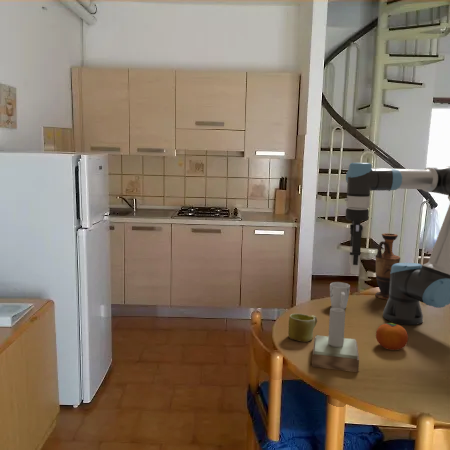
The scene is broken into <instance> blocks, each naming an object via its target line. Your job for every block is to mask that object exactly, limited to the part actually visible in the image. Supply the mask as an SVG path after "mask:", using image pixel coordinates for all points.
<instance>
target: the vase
mask: <svg viewBox="0 0 450 450" xmlns="http://www.w3.org/2000/svg"><path fill="white" fill-rule="evenodd" d="M381 236H382V237H381V238H382V239H383V240H384V241H380V242H379V243H378V248H377V253H376V254H375V279H376V283H377V286H378V288H379V289H378V290H379V291H377V292H376V293H375V298H378V299H382V300H388V299H389V289H390V272H391V267H392V265H393V264H396V263H401V257H400V256H399V255H396V254H394V253H393V244H394V241H395V240H396V239H397V238H398V237H399V235H398V234H395V233H387V232H386V233H381ZM383 246H384V249H383V252H382V247H383Z"/></svg>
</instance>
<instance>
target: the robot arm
mask: <svg viewBox="0 0 450 450" xmlns="http://www.w3.org/2000/svg"><path fill="white" fill-rule="evenodd" d="M372 165H373V164H372V163H371V162H351V163H349V165H348V170H347V172H346V173H345V181H346V183H347V187H346V197H345V198H344V202H346V205H345V206H346V207H347V208H346V209H345V219H346V220H347V221H351V224H350V225H349V229H350V240H349V257H348V259H349V260H348V261H349V262H348V265H350V270H349V271H350V275H360V265H361V264H360V263H361V262H360V260H361V254H362V252H361V249H362V248H361V247H362V245H361V244H362V243H361V242H362V236H363V235H362V233H363V227H364V226H363V224H361V222H367V221H368V220H369V215H370V210H369V208H370V201H371V191H373V192H374V191H377V192H378V191H380V192H381V191H388V192H391V191H396V190H399V189H401V190H402V189H403V190H405V189H406V190H422V191H423V192H426V193H436V194H440V195H444V196H445V195H446V196H447V199H448V201H449V202H450V166H440V167H439V166H438V167H426V168H424V169H413V168H411V169H409V168H408V169H407V168H390V167H389V168H385V167H384V168H383V167H373V166H372ZM427 261H428V262H426V263H423V264H421V263H418V262H416V263H415V262H399V263H396V264H393V265H392V267H391V272H390V289H389V299H387V301H386V304H385V306H384V308H383V312H382V317H383V318H384V319H385V320H387V321H389V322H390V323H393V324H397V325H405V326H410V325H411V326H414V325H419V324H421V323H423V322H424V321H423V319H424V314H423V311H422V306H421V303H422V304H425V305H426V306H429V307H434V308H437V309H439V308H440V309H441V308H445V307H446V306H448V305H450V204H449V206H448V208H447V211H446V214H445V216H444V218H443V221H442V224H441V227H440V229H439V233H438V235H437V237H436V241H435V243H434V246H433V248H432V250H431V254H430V256H429V259H428V260H427ZM420 302H421V303H420Z"/></svg>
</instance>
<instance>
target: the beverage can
mask: <svg viewBox="0 0 450 450" xmlns="http://www.w3.org/2000/svg"><path fill="white" fill-rule="evenodd" d="M328 320H329V321H328V323H329V324H328V336H329V339H328V343H329V345H330V346H332V347H342V346H343V344H344V338H345V325H346V324H345V322H346V308H345V309H343V308H340V307H332V306H331V307H330V310H329V319H328Z"/></svg>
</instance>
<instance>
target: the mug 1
mask: <svg viewBox="0 0 450 450" xmlns="http://www.w3.org/2000/svg"><path fill="white" fill-rule="evenodd" d="M288 317H289V318H288V333H287V334H288V337H289V339H291V340H294V341H298V342H302V343H308V342H309V341H312V339H314V338H313V337H314V335H313V334H314V329H315V327H316V326H317V323H318V318H317V316H316V315H313V314H311V315H308V314H305V313H304V314H303V313H291V314H289V316H288Z"/></svg>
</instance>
